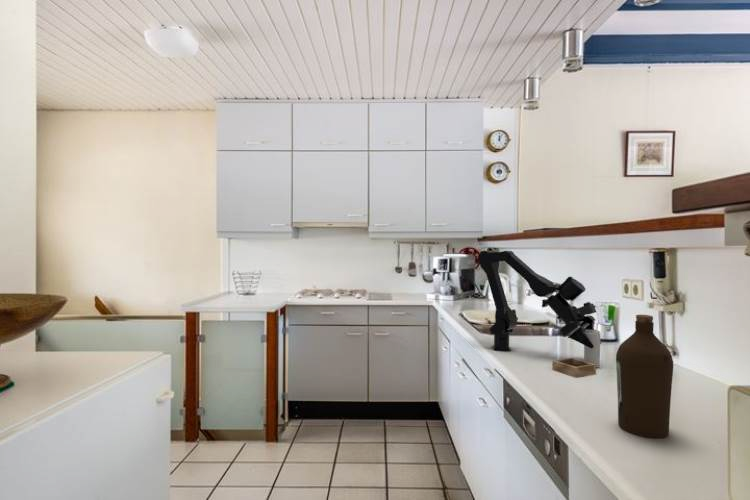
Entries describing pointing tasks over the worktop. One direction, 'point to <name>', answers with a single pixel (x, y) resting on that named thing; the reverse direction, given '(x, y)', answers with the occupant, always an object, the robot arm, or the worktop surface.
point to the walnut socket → (574, 367)
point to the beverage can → (593, 353)
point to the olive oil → (644, 382)
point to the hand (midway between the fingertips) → (596, 345)
